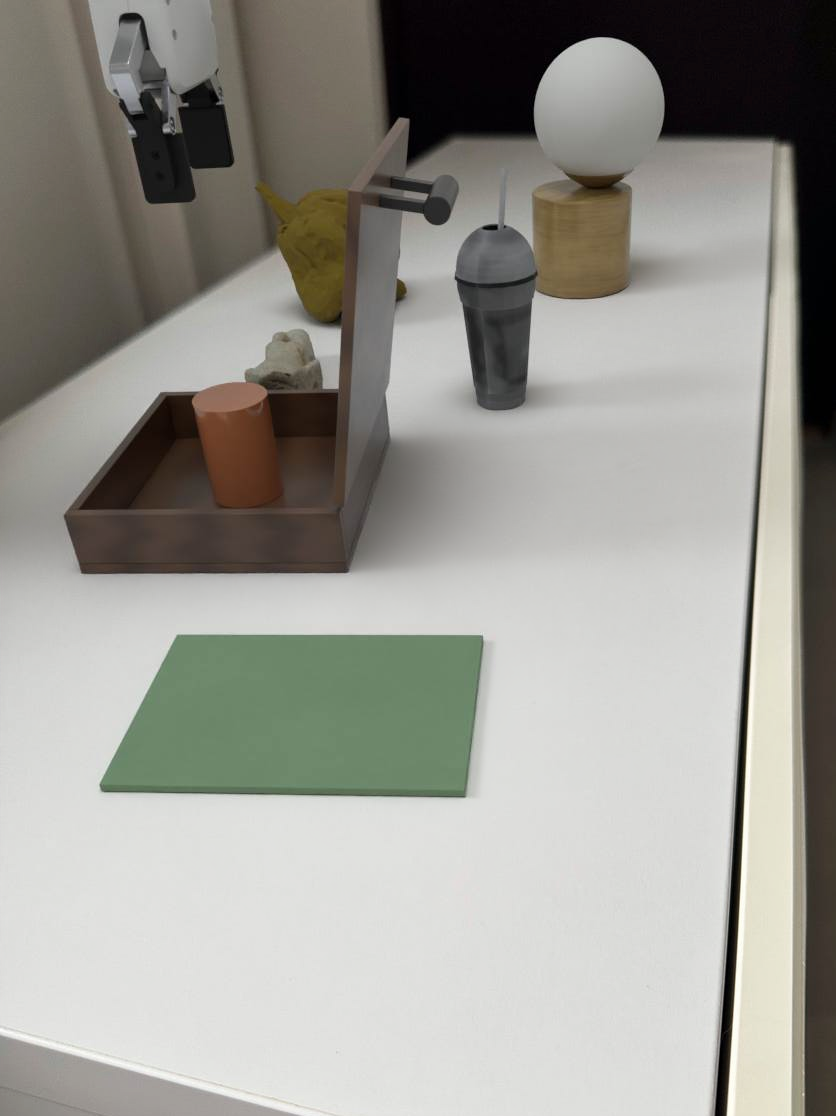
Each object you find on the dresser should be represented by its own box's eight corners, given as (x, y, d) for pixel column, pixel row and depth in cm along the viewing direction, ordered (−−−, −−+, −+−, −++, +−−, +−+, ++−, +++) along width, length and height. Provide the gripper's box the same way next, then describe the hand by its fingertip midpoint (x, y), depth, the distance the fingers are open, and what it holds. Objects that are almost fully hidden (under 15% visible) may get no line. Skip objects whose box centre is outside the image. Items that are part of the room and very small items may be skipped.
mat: (100, 791, 57) (98, 784, 57) (178, 640, 69) (176, 634, 68) (465, 796, 56) (464, 790, 55) (483, 641, 67) (483, 634, 67)
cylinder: (204, 508, 82) (182, 412, 77) (223, 475, 86) (203, 382, 81) (275, 508, 81) (257, 411, 76) (290, 474, 86) (274, 381, 81)
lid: (347, 189, 59) (442, 203, 59) (398, 117, 77) (472, 128, 77) (332, 506, 71) (411, 517, 71) (379, 381, 89) (443, 391, 89)
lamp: (595, 253, 133) (599, 26, 119) (681, 276, 124) (696, 33, 110) (505, 282, 126) (497, 43, 111) (589, 308, 117) (592, 52, 102)
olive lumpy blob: (265, 314, 120) (244, 184, 112) (350, 279, 129) (336, 156, 121) (353, 337, 114) (338, 200, 105) (437, 298, 122) (429, 169, 114)
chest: (81, 573, 76) (62, 515, 73) (172, 442, 94) (160, 391, 91) (347, 572, 74) (339, 512, 72) (390, 439, 92) (385, 387, 89)
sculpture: (256, 370, 109) (244, 419, 96) (250, 323, 106) (238, 367, 93) (326, 368, 109) (323, 415, 97) (322, 321, 107) (319, 364, 94)
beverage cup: (448, 395, 99) (432, 167, 87) (516, 378, 102) (509, 155, 90) (484, 422, 94) (472, 184, 82) (554, 404, 96) (552, 170, 85)
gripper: (118, -123, 69) (177, 158, 79) (5, -121, 55) (94, 220, 65) (230, -132, 68) (275, 153, 78) (144, -132, 54) (212, 215, 64)
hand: (193, 183), depth 72 cm, fingers open, 9 cm apart
